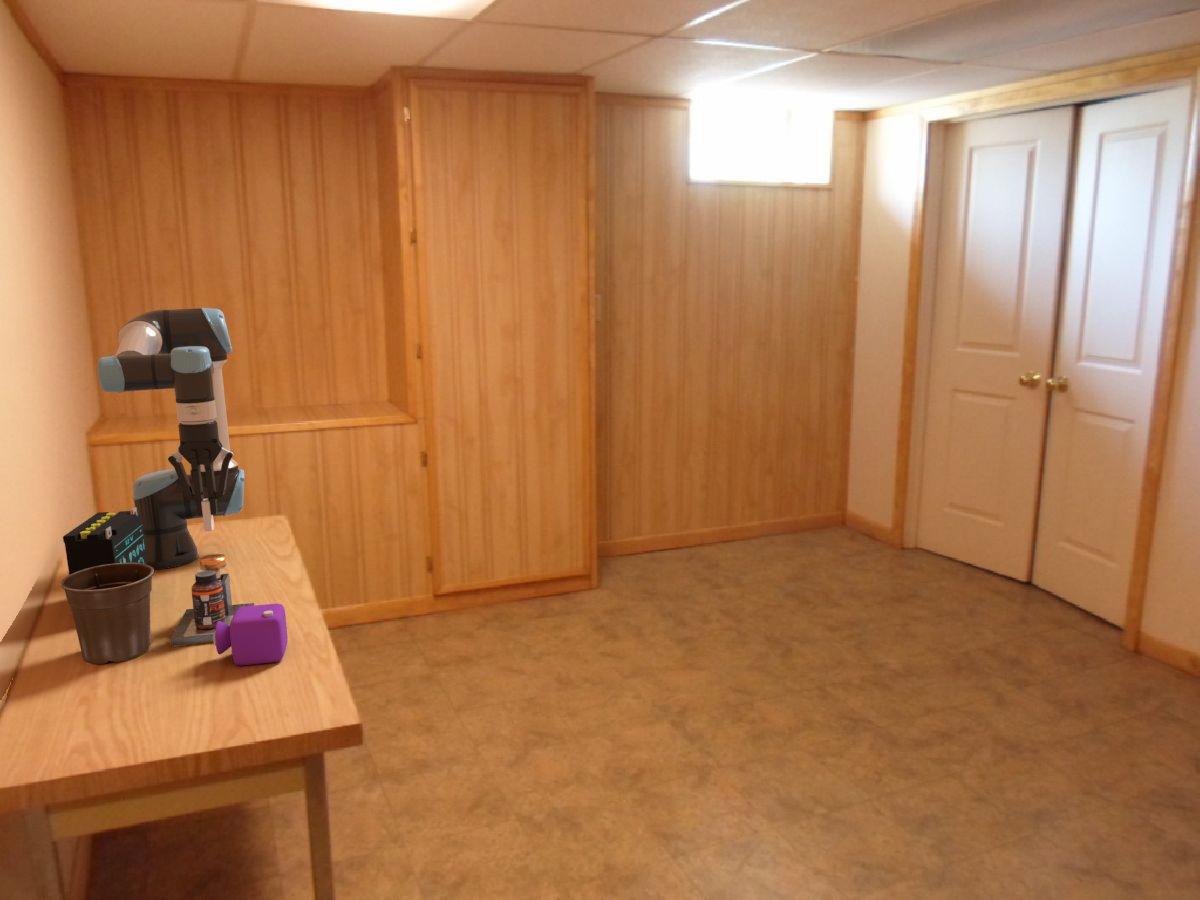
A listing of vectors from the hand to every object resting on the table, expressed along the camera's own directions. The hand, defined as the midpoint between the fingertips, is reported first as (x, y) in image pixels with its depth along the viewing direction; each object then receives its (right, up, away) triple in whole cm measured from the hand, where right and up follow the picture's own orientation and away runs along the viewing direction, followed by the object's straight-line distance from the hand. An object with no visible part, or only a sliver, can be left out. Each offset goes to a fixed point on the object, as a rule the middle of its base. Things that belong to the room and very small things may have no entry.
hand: (209, 529), depth 197 cm
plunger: (0, -13, +3) cm, 13 cm away
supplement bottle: (+2, -20, -5) cm, 20 cm away
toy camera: (+16, -24, -17) cm, 33 cm away
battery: (-28, -18, +14) cm, 36 cm away
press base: (+2, -21, -1) cm, 21 cm away
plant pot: (-13, -24, -13) cm, 30 cm away
